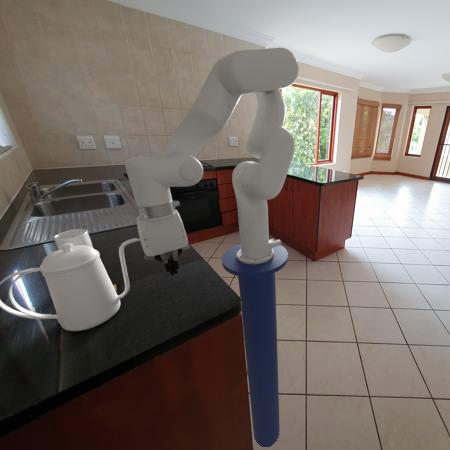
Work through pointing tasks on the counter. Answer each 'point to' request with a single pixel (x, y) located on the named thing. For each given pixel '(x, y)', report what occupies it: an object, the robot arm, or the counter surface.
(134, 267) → the counter surface
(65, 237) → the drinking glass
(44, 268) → the coffeepot
